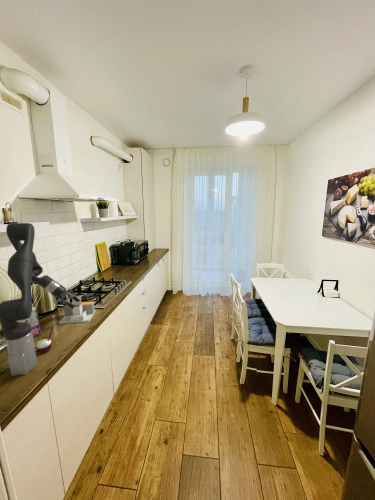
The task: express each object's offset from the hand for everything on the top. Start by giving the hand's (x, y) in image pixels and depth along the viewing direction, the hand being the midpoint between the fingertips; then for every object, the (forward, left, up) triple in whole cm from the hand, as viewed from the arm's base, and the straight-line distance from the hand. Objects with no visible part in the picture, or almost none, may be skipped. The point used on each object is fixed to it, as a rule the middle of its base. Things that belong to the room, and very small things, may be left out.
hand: (76, 304), depth 134 cm
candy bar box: (-17, +21, -10) cm, 29 cm away
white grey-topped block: (0, 0, -9) cm, 9 cm away
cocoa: (-31, +5, -10) cm, 33 cm away
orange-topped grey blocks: (+2, +1, -10) cm, 10 cm away
